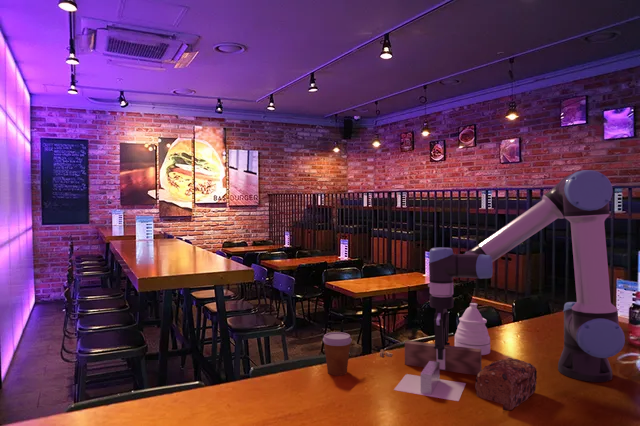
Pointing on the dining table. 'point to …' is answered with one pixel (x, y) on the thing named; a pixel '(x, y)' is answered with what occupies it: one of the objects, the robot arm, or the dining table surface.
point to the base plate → (442, 389)
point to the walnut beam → (454, 357)
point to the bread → (507, 382)
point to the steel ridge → (430, 377)
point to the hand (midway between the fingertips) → (442, 366)
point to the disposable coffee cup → (337, 352)
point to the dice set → (385, 354)
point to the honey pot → (473, 331)
